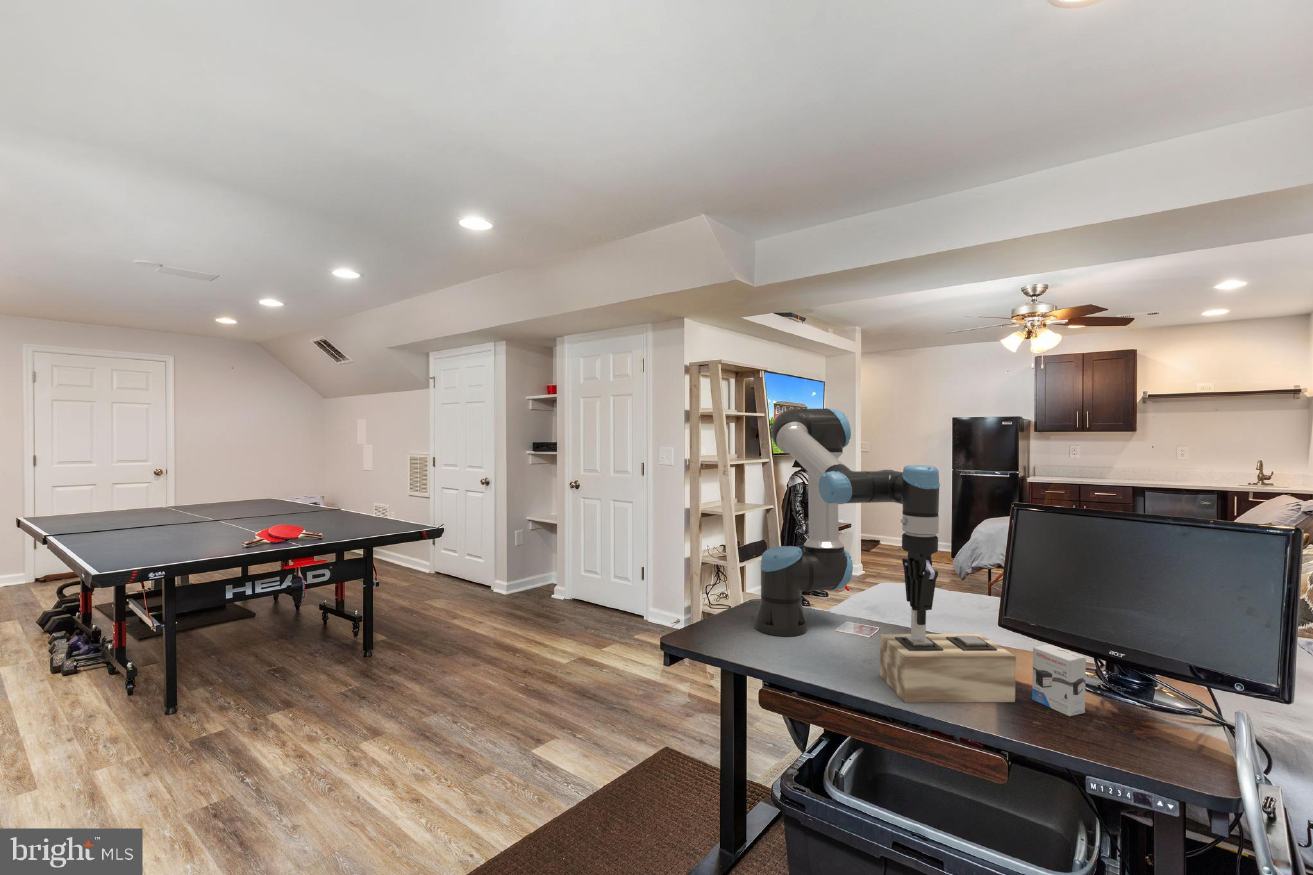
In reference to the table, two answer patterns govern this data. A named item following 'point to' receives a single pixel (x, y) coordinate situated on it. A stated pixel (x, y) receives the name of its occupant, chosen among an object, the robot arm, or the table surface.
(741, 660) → the table surface
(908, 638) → the peg
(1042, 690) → the ink box
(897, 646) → the socket block
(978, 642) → the peg
